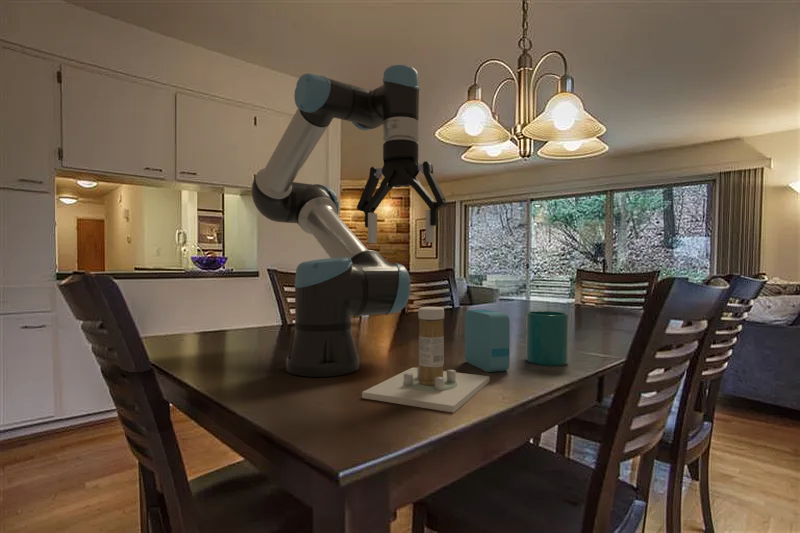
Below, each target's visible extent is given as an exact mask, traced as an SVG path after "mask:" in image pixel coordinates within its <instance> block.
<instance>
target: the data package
mask: <svg viewBox="0 0 800 533" xmlns="http://www.w3.org/2000/svg"><path fill="white" fill-rule="evenodd" d="M464 318H465V320H464V323H465V324H464V326H465V328H464V342H465V343H464V345H465V346H464V358H465V361H466V363H467V364H469V363H470V364H469V365H471V364H472V366H474V367H476V368H478V369H480V370H481V371H484V372H486V373H496V372H498V373H499V372H507V371H508V370H509V368H510V329H511V328H510V327H511V326H510V325H511V323H510V317H509V315H508V313H503V312H498V311H494V310H489V309H468V310H466V312H465V317H464Z"/></svg>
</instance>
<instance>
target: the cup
mask: <svg viewBox="0 0 800 533" xmlns="http://www.w3.org/2000/svg"><path fill="white" fill-rule="evenodd" d="M525 324H526V326H525V327H526V328H525V337H526V338H525V342H526V345H525V346H526V347H525V350H526V351H525V352H526V354H525V355H526V356H525V358H526V360H527V362H529V363H531V364H532V365H533V364H534V365H539V366H545V367H559V366H564V365H566V364H567V363H568V362H569V313H567V312H562V311H553V310H552V311H551V310H550V311H549V310H532V311H527V312H526V323H525Z"/></svg>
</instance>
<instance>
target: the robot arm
mask: <svg viewBox="0 0 800 533" xmlns="http://www.w3.org/2000/svg"><path fill="white" fill-rule="evenodd" d="M296 81H297V82H296V88H295V89H294V94H293V95H294V96H293V98H294V104H295V105H296V107H297V109H296V111H295V113H294V114H293V116H292V118H291V120H290V121H289V124H288V125H287V128H286V129H285V130H284V133H283V135H281V138H280V140H279V142H278V144H277V145H276V147H275V149H274V151H273V152H272V155H271V156H270V158H269V160H268V162H267V164H266V165H265V167H264V168H262V169H260V170H258V171H257V173H256V175H255V176H254V179H253V181H252V185H251V197H252V201H253V204H254V205H255V208H256V209H257V210H258V211H259V213H260V214H261V215H262V216H263V217H265V218H266V219H268V220H270V221H271V222H276V223H286V224H287V223H288V224H297V225H298V226H299V227H300V228H301V230H302V231H303V232H305V233H307V234H309V235H312V236H313V237H314V238H315V239H316V241H317V243H318V244H319V245H320V246H321V247H322V249H323V250H324V251H325V253H326V254H327V255H328V257H329V258H321V259H313V260H307V261H303V262H301V263H299V264H298V265H297V267H296V269H295V278H294V299H295V300H294V305H295V306H294V309H295V310H294V317H295V318H294V319H295V320H294V322H295V326H294V336H293V339H292V341H291V345H290V347H289V348H290V349H289V352H288V356H287V357H286V372H288V373H289V374H291V375H295V376H301V377H310V378H311V377H312V378H315V377H316V378H317V377H319V378H320V377H323V378H325V377H336V376H342V375H348V374H351V373H354V372H356V371H358V370H359V369H360V355H359V352H358V349H357V347H356V343H355V340H354V336H353V334H352V317H361V316H363V317H365V316H378V315H379V316H380V315H390V314H395V313H398V312H401V311H402V310H403V309H404V308H405V306H407V304H408V301H409V298H410V295H411V278H410V274H409V271H408V270H407V268H406V267H405V266H404V265H403V264H401V263H398V262H394V263H390V262H389V261H387V260H386V259H385V257H383V256H382V255H381V253H379V252H378V251H375V250H374V249H373V250H371V249H368V248H367V247H366V246H365V244H364V243H362V241H361V240H360V239H359V238H358V237H357V235H355V233H354V232H353V231H352V229H350V228H349V227H348V225H347V224H346V223H345V222H344V221H343V220H342V218H340V216H339V215H338V214H339V209H340V208H339V201H337V200H338V197H337V196H338V195H337V194H336V192H335V191H334V190H333V189H332V188H331V187H329V186H326V185H323V184H317V183H315V184H314V183H313V184H311V183H303V182H296V181H294V180H295V179H296V177H297V176H298V175H299V173H300V171H301V170H302V168H303V167H304V164H305V163H306V162H307V160H308V159H309V157H310V155H311V154H312V152H313V151H314V149H315V148H316V147H317V144H318V142H319V141H320V140H321V138H322V137H323V135H324V134H325V132H326V130H327V129H328V127H329V125H330V124H331V122H332V121H333V119H337V120H343V121H347V122H351V124H352V125H353V126H355V127H356V128H357V129H359V130H362V131H368V130H373V129H377V128H379V127H381V126H382V128H383V129H382V130H383V131H382V135H383V136H382V137H383V138H382V139H383V142H384V143H383V144H382V145H383V146H382V160H383V166H382V168H379V167H375V166H371V167H370V168H369V176H368V179H367V181H366V184H365V186H364V189H363V190H362V191H363V192H362V194H361V195H360V198H359V201H358V204H357V206H356V209H357V211H361V212H363V213H364V227H365V229H366V228H367V243H368V244H378V214H377V213H376V212H375V211H376V210H377V208H378V207H379V206H380V204H381V203H382V202H383V200H384V199H385V197H386V196H387V194H388V193H389V191H391V190H393V188H400V187H405V188H407V187H410V186H411V188H413V190H415V192H416V193H417V195H419V197H420V199H422V201H424V203H425V204H426V205H427V206H428V209H425V242H426V243H435V227H437V226H438V225H439V210H440V209H442V208H445V207H447V206H448V202H447V199H446V197H445V195H444V193H443V191H442V189H441V187H440V185H439V183H438V181H437V178H436V176H435V175H434V169H433V167H434V166H433V164H432V163H430V162H428V161H427V160H425V161H423V162H422V163H419V144H418V142H419V139H420V138H419V136H420V135H419V134H420V133H419V112H420V111H419V110H420V108H419V107H420V105H419V104H420V102H419V101H420V83H419V73H418V70H416V69H415V68H414V67H412V66H409V65H407V64H393V65H391V66H388V67H386V68H385V70H384V72H383V78H382V84H381V85H380V86H378V87H377V88H375V89H367V88H364V87H360V86H356V85H353V84H349V83H346V82H342V81H339V80H335V79H332V78H328V77H326V76H323V75H318V74H313V73H304V74H302V75H301V76H299V77H298V80H296ZM420 172H421V173H422V174H423V176H424V177H425V180H426V182H427V184H428V186H429V188H430V191H431V193H432V194H433V196H434V198H433V197H432V196H431V195H430V193H429V192H428V190H426V188H425V187H424V186H423V185H422V183H421V182H420V180H419V179H418V178H417V176H418V175H419V173H420ZM382 175H383V177H384V178H383V179H382V180H381V182H380V183H379V181H380V179H381V178H382ZM379 184H380V185H379ZM378 185H379V187H378V188H377V186H378Z"/></svg>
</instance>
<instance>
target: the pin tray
mask: <svg viewBox="0 0 800 533" xmlns="http://www.w3.org/2000/svg"><path fill="white" fill-rule="evenodd" d="M489 383H490V376H489V375H482V374H481V375H480V374H474V373H473V374H472V373H463V372H457V371H456V370H455V369H447V370H443V377H435V386H428V385H423V384H421V383H419V366H417V367H411V368H409V369H406V370H404V371H402V372H401V373H398V374H395V375H394V376H392V377H390V378H388V379H386V380H384V381H382V382H380V383H378V384H376V385H373V386H372V387H369V388H368V389H366V390H363V391H362V392H361V398H362V399H366V400H373V401H379V402H386V403H391V404H392V403H393V404H398V405H404V406H410V407H415V408H421V409H430V410H435V411H441V412H447V413H456V411H458V409H460V408H461V407H462V406H464V404H465V403H467V402H468V401H469V400H470V399H471V398H472V397H473V396H475V395H476V394H477V393H478V392H479V391H480V390H481V389H483V388H484V387H485V386H486V385H487V384H489Z"/></svg>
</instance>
